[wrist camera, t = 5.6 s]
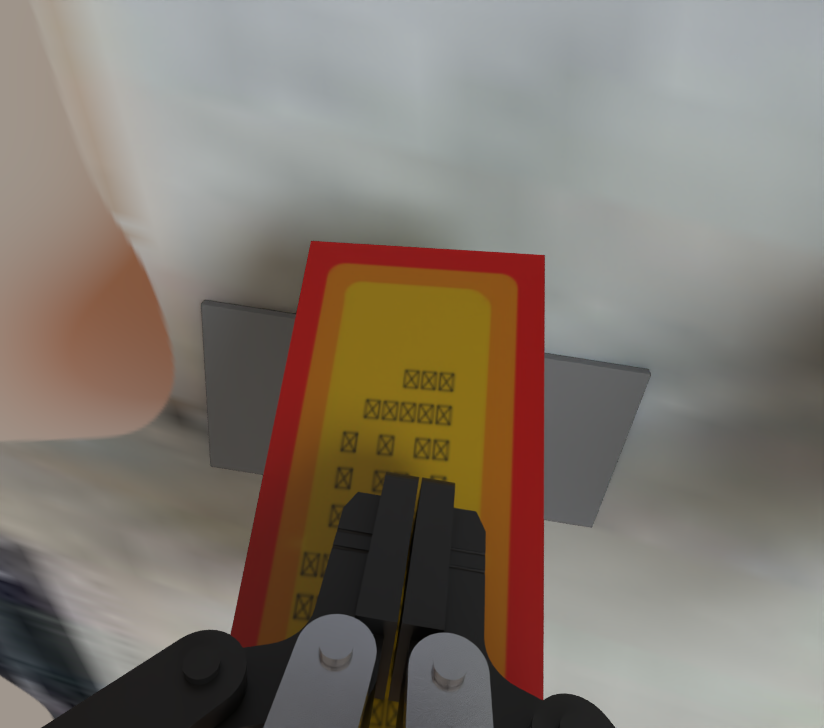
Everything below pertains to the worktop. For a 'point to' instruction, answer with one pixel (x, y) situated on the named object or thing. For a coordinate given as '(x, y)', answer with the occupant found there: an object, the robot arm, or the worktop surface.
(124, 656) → the worktop surface
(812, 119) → the worktop surface
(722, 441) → the worktop surface
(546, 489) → the mat
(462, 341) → the baking soda box
